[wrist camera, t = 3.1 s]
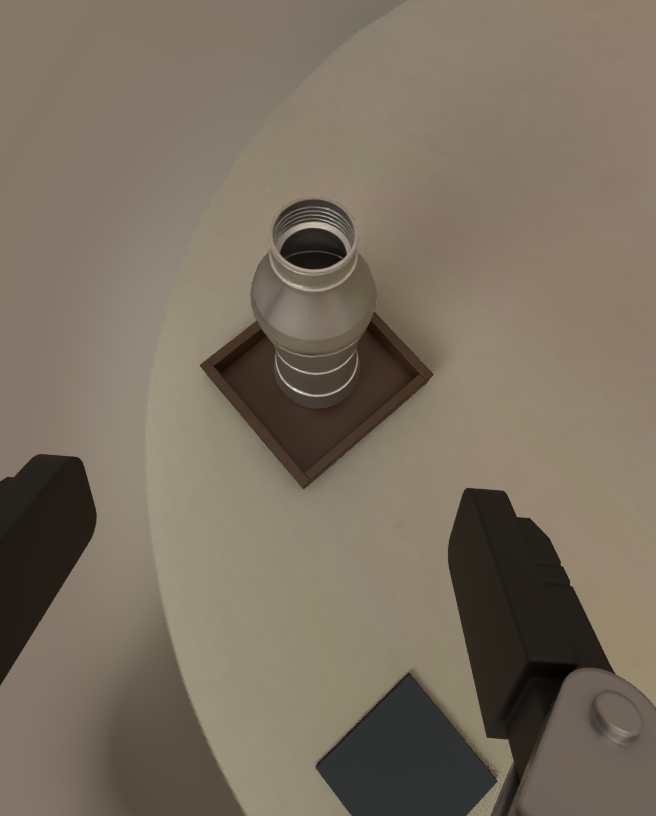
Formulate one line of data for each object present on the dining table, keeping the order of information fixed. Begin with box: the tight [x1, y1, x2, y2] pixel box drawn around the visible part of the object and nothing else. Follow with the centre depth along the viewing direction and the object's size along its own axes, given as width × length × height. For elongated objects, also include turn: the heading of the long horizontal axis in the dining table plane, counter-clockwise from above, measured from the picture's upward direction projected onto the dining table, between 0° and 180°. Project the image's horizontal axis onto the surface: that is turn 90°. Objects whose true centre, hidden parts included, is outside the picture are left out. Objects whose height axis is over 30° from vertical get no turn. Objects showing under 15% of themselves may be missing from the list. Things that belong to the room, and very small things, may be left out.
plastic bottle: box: [250, 197, 377, 409], centre depth 29 cm, size 6×7×20 cm
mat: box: [316, 673, 497, 816], centre depth 32 cm, size 9×9×1 cm
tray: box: [200, 312, 433, 489], centre depth 38 cm, size 14×13×2 cm
